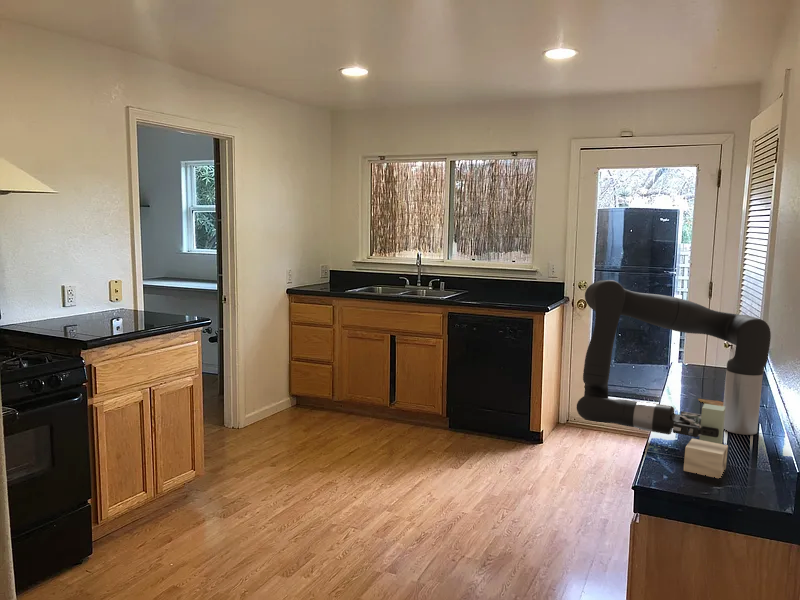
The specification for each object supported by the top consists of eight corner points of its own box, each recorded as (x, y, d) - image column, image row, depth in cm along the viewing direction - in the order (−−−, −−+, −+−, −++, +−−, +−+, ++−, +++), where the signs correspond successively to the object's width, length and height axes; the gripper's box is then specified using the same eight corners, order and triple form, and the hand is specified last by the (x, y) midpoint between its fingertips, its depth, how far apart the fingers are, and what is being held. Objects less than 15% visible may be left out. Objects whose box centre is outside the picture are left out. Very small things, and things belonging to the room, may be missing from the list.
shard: (697, 402, 219) (697, 397, 219) (716, 401, 221) (716, 396, 221) (720, 411, 209) (721, 406, 209) (740, 410, 211) (740, 405, 210)
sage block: (700, 447, 172) (704, 403, 170) (721, 451, 169) (725, 406, 168) (698, 453, 167) (702, 407, 166) (719, 457, 165) (723, 411, 163)
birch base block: (690, 461, 161) (692, 438, 161) (725, 469, 157) (727, 445, 156) (683, 471, 155) (685, 446, 154) (720, 479, 150) (722, 454, 150)
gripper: (649, 410, 168) (719, 421, 160) (659, 398, 180) (724, 408, 172) (647, 438, 169) (716, 450, 161) (657, 424, 181) (721, 435, 173)
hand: (720, 428), depth 166 cm, fingers open, 8 cm apart
